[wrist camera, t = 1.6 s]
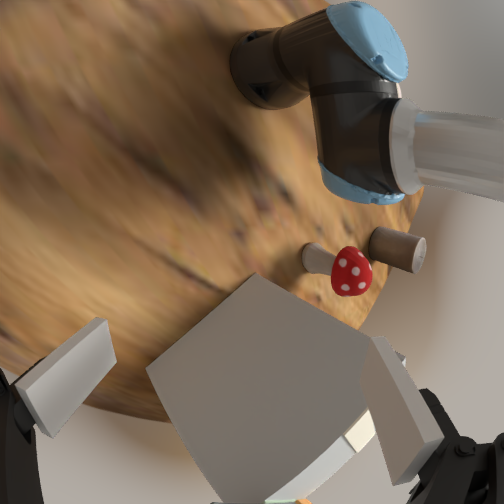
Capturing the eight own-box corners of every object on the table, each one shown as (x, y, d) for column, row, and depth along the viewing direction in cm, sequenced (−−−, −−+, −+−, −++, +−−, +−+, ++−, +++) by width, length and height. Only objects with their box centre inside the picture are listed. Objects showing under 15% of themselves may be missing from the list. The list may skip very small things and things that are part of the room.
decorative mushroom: (290, 245, 52) (353, 270, 40) (320, 226, 56) (381, 244, 44) (299, 286, 57) (356, 315, 45) (326, 265, 60) (382, 288, 49)
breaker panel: (145, 368, 42) (237, 520, 18) (255, 272, 49) (408, 357, 25) (197, 405, 51) (287, 513, 27) (286, 326, 58) (402, 401, 34)
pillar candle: (369, 266, 72) (415, 283, 60) (366, 237, 67) (417, 252, 55) (386, 247, 75) (429, 261, 64) (384, 219, 71) (431, 231, 59)
